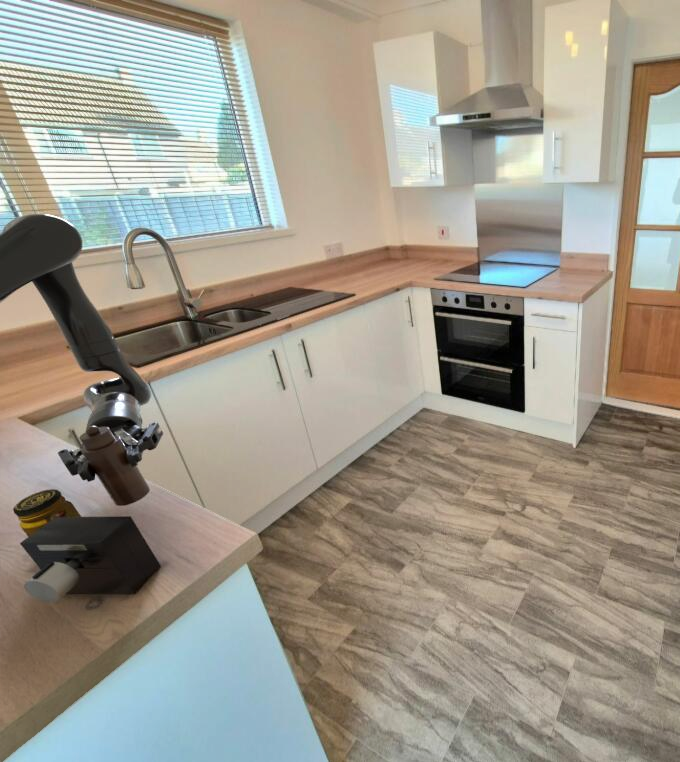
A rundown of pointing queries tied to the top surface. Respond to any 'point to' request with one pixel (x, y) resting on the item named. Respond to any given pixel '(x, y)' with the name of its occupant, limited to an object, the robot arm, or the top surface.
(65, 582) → the knob
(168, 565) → the top surface
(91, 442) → the pepper mill
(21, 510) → the condiment
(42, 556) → the panel
